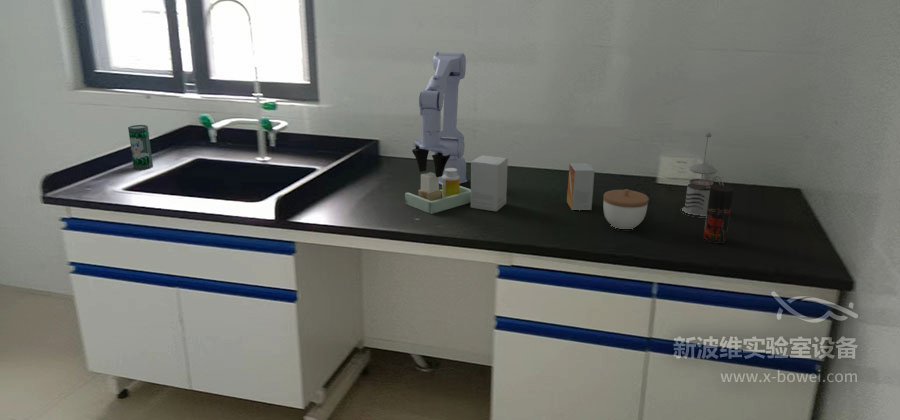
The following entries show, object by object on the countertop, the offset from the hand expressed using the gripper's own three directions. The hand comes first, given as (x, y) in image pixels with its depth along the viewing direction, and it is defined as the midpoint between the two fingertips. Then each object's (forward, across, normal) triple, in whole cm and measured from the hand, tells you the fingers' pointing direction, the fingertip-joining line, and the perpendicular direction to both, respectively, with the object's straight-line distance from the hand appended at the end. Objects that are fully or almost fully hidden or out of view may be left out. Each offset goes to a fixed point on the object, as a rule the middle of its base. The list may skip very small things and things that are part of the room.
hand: (430, 173), depth 213 cm
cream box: (+5, 0, 0) cm, 5 cm away
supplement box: (+10, +12, +14) cm, 21 cm away
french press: (+10, +59, +58) cm, 84 cm away
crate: (+10, 0, +4) cm, 11 cm away
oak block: (+10, 0, 0) cm, 10 cm away
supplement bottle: (+10, 0, +8) cm, 13 cm away
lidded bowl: (+10, +50, +30) cm, 59 cm away
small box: (+10, +31, +34) cm, 48 cm away
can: (+10, -99, -52) cm, 112 cm away
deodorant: (+10, +73, +40) cm, 84 cm away
